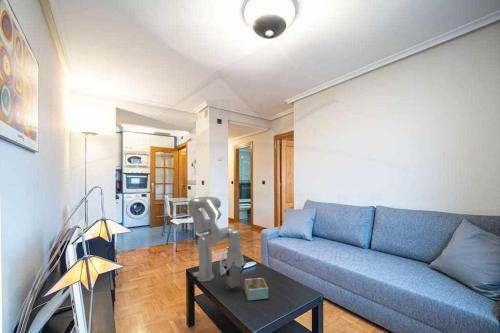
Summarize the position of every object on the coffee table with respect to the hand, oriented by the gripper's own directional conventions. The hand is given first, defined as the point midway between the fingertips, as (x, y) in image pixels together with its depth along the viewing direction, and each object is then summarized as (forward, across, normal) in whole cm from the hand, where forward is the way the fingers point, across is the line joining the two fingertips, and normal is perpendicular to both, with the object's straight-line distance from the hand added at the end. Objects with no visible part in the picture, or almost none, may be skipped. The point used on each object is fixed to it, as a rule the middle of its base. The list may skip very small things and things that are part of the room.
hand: (233, 275), depth 143 cm
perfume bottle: (+6, 0, 0) cm, 6 cm away
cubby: (+10, +14, -6) cm, 18 cm away
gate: (+9, +14, -13) cm, 21 cm away
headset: (+11, +1, +26) cm, 29 cm away
